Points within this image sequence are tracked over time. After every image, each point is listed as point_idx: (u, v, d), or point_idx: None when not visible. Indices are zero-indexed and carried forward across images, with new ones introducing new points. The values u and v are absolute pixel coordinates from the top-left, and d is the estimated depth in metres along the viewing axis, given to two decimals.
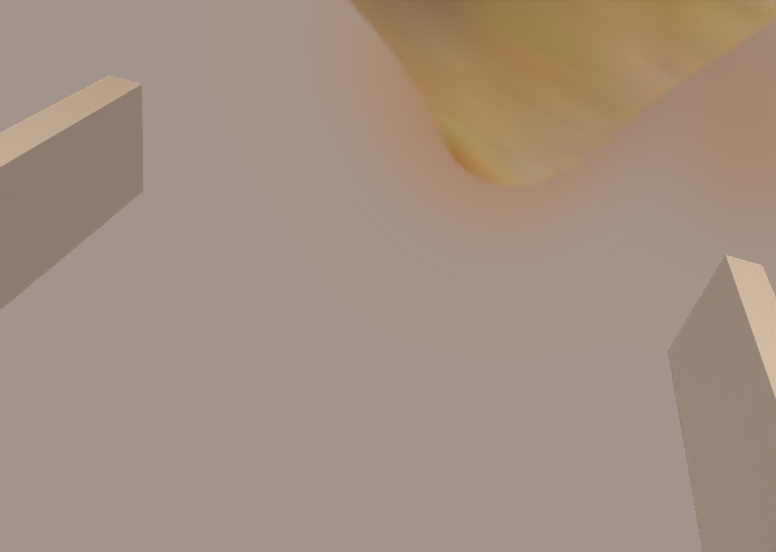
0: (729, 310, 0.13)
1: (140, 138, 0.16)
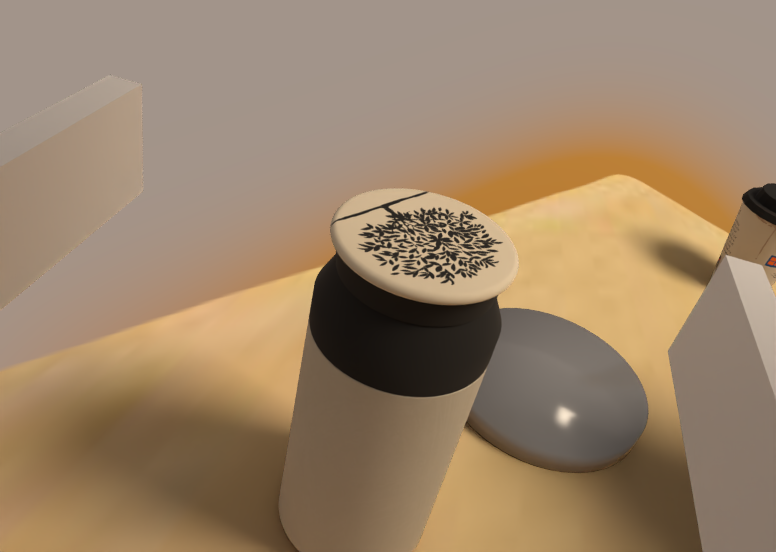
0: (730, 310, 0.13)
1: (140, 138, 0.16)
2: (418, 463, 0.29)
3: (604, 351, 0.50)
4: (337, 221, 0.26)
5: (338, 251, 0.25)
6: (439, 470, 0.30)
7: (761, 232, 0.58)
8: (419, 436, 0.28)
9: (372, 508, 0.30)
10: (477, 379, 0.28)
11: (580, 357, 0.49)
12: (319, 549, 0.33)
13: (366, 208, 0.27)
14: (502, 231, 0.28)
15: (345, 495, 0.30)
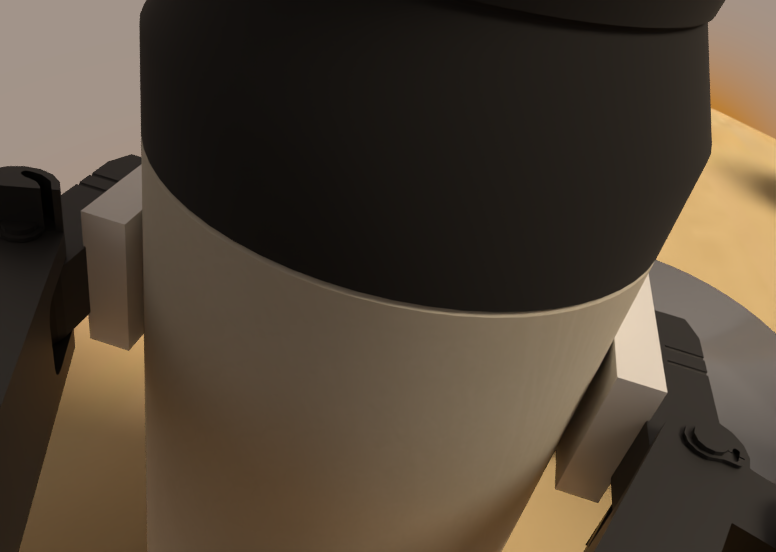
0: None
1: None
2: (456, 522, 0.10)
3: (728, 308, 0.31)
4: None
5: None
6: (504, 532, 0.12)
7: None
8: (465, 445, 0.09)
9: None
10: (644, 273, 0.09)
11: (693, 316, 0.30)
12: None
13: None
14: None
15: None
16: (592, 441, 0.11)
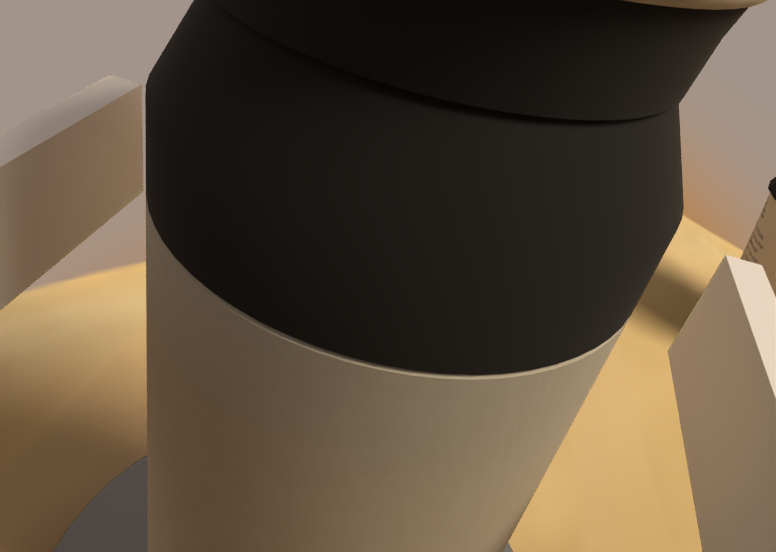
0: (729, 311, 0.13)
1: (140, 138, 0.16)
2: None
3: None
4: None
5: None
6: None
7: None
8: (450, 491, 0.10)
9: None
10: (619, 329, 0.10)
11: None
12: None
13: None
14: None
15: None
16: None
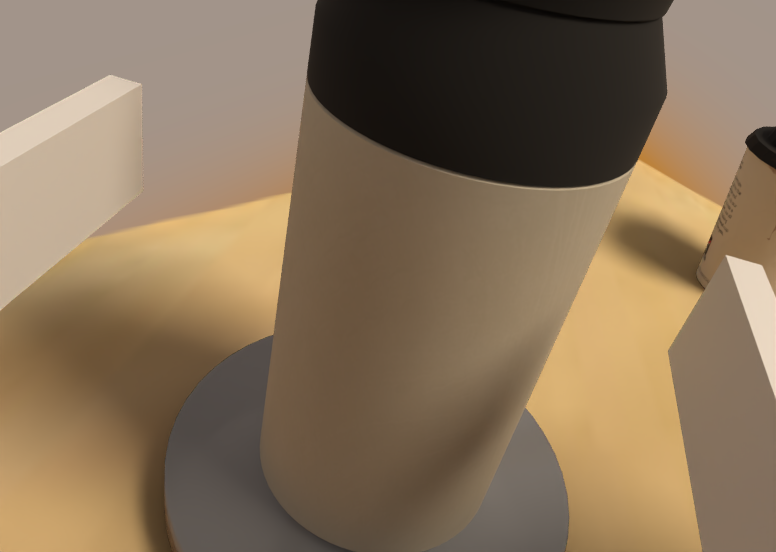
0: (729, 311, 0.13)
1: (140, 138, 0.16)
2: (508, 343, 0.16)
3: None
4: None
5: None
6: (535, 367, 0.18)
7: None
8: (517, 282, 0.15)
9: (421, 433, 0.17)
10: (626, 173, 0.15)
11: None
12: (326, 512, 0.20)
13: None
14: None
15: (373, 408, 0.17)
16: None
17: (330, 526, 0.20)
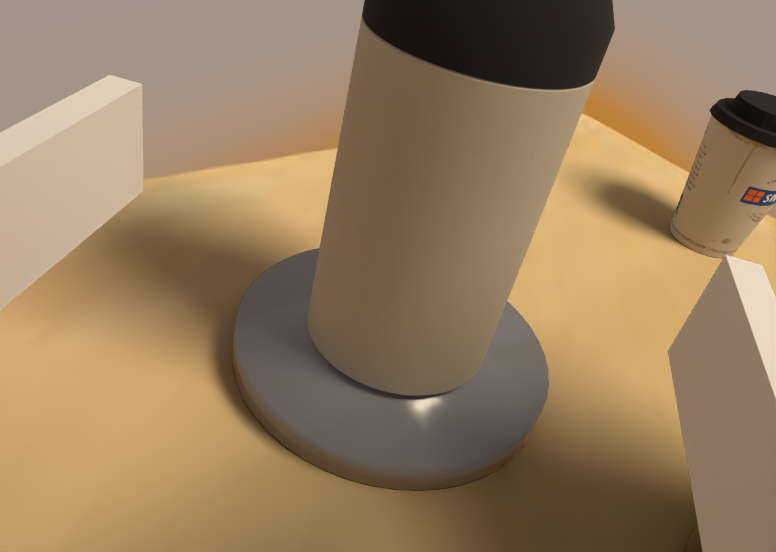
0: (729, 310, 0.13)
1: (140, 138, 0.16)
2: (501, 211, 0.22)
3: None
4: None
5: None
6: (521, 239, 0.24)
7: (735, 154, 0.42)
8: (508, 160, 0.21)
9: (437, 282, 0.23)
10: (585, 86, 0.21)
11: None
12: (362, 356, 0.26)
13: None
14: None
15: (403, 262, 0.23)
16: None
17: (365, 369, 0.26)
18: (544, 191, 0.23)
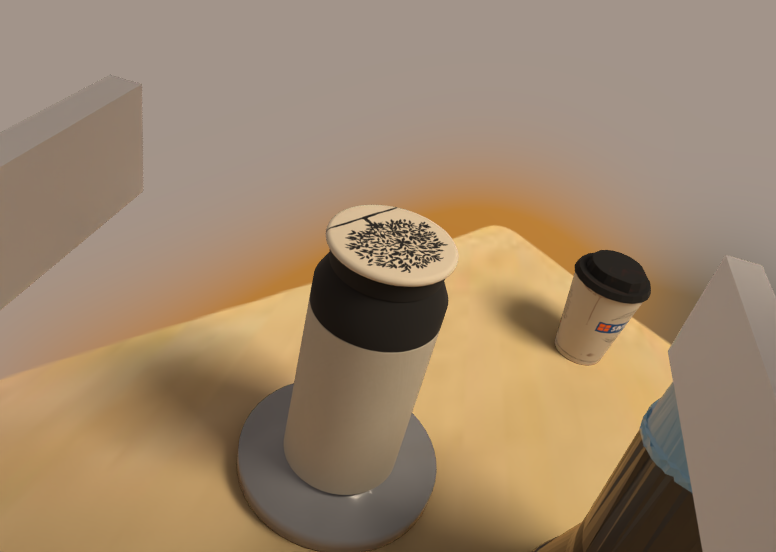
0: (730, 310, 0.13)
1: (140, 138, 0.16)
2: (387, 404, 0.40)
3: (408, 423, 0.51)
4: (330, 228, 0.37)
5: (331, 249, 0.36)
6: (403, 411, 0.42)
7: (588, 300, 0.59)
8: (387, 382, 0.39)
9: (354, 438, 0.41)
10: (429, 342, 0.39)
11: None
12: (314, 473, 0.44)
13: (351, 219, 0.38)
14: (448, 236, 0.39)
15: (334, 428, 0.41)
16: None
17: (316, 480, 0.44)
18: (414, 388, 0.41)
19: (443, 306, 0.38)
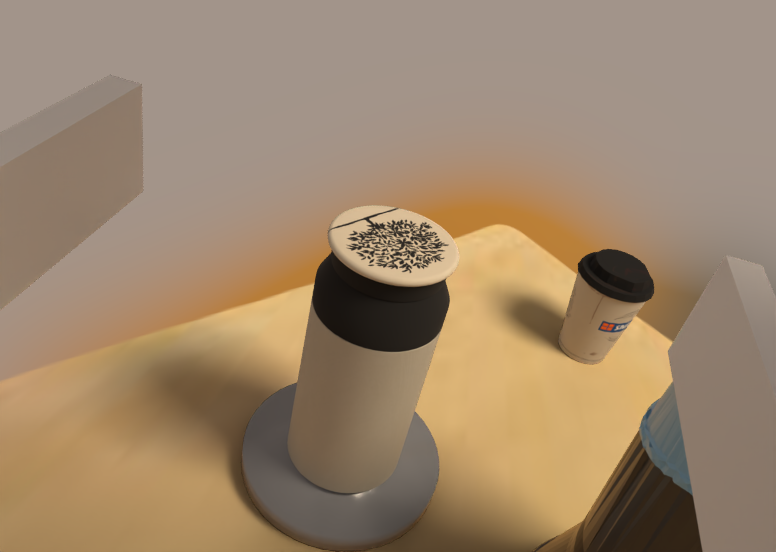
0: (730, 310, 0.13)
1: (140, 138, 0.16)
2: (389, 402, 0.40)
3: (411, 422, 0.51)
4: (332, 229, 0.37)
5: (333, 249, 0.36)
6: (406, 410, 0.42)
7: (591, 299, 0.59)
8: (389, 381, 0.39)
9: (357, 437, 0.41)
10: (431, 341, 0.39)
11: None
12: (318, 472, 0.44)
13: (353, 220, 0.38)
14: (449, 237, 0.39)
15: (337, 427, 0.41)
16: None
17: (320, 478, 0.44)
18: (416, 387, 0.41)
19: (444, 306, 0.39)
